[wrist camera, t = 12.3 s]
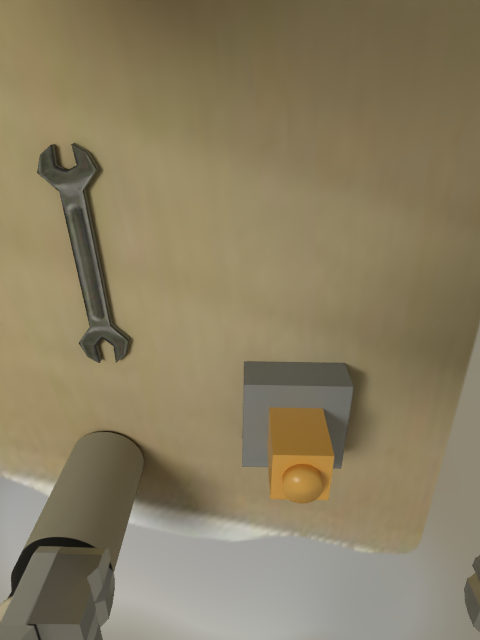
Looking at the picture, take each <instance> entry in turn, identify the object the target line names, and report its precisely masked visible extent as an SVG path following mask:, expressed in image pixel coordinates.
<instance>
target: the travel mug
mask: <svg viewBox="0 0 480 640" xmlns="http://www.w3.org/2000/svg"><path fill="white" fill-rule="evenodd" d="M143 467H144V458H143V455H142V453H141V451H140V449H139V448H138V447H137V446H136V445H135V444H134V443H133V442H132V441H131V440H129V439H128V438H126V437H124V436H121V435H119V434H115V433H111V432H96V433H91V434H88V435H86V436H84V437H83V438H81V439H80V440H79V441H78V442H77V443H76V445H75V446H74V448H73V450H72V452H71V454H70V456H69V458H68V460H67V462H66V464H65V466H64V468H63V470H62V472H61V474H60V476H59V478H58V480H57V482H56V484H55V486H54V488H53V490H52V492H51V495H50V497H49V499H48V501H47V503H46V505H45V507H44V509H43V511H42V513H41V515H40V517H39V519H38V521H37V523H36V525H35V527H34V529H33V531H32V533H31V535H30V537H29V539H28V541H27V543H26V545H25V547H24V549H23V551H22V553H21V555H20V557H19V559H18V561H17V563H16V565H15V567H14V569H13V571H12V575H11V585H12V586H11V587H12V592H11V594H10V596H9V597H8V598H7V599H6V600H5V601H3V602H2V603H1V604H0V622H1V620H2V618H3V616H4V614H5V612H6V610H7V608H8V605H9V603H10V601H11V599H12V597H13V595H14V593H15V591H16V589H17V587H18V584H19V582H20V580H21V578H22V576H23V574H24V572H25V570H26V568H27V565H28V563H29V561H30V559H31V557H32V555H33V553H34V552H35V551H36V550H37V549H38V547H39V546H53V547H78V548H107V549H109V552H110V556H111V560H110V563H109V568H110V569H111V570H112V571H113V572H114V570H115V566H116V563H117V559H118V556H119V552H120V549H121V545H122V541H123V538H124V534H125V531H126V527H127V524H128V520H129V517H130V513H131V510H132V506H133V502H134V499H135V495H136V492H137V488H138V485H139V481H140V478H141V474H142V471H143Z"/></svg>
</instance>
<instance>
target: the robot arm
mask: <svg viewBox="0 0 480 640" xmlns="http://www.w3.org/2000/svg"><path fill="white" fill-rule="evenodd" d="M110 560H111V556H110V552H109V549H107V548H78V547H53V546H39V547H38V549H37V550H36V551H35V552H34V553H33V555H32V557H31V559H30V561H29V563H28V565H27V568H26V570H25V572H24V574H23V576H22V578H21V580H20V582H19V584H18V587H17V589H16V591H15V593H14V595H13V597H12V599H11V601H10V603H9V605H8V608H7V610H6V612H5V614H4V616H3V618H2V620H1V622H0V640H103V639H102V635H101V630H100V627H101V626H102V625H103V624H104V623H105V622H106V621H107V620H108V619H109V616H110V611H111V608H112V603H113V597H114V590H115V578H114V572H113V571H112V570H111V569H110V568H109V563H110ZM472 566H473V568H474V570H475V572H476V573H475V574H473V575H472V576H471V577H469V578H468V579H467V582H466V585H465V588H464V592H465V603H466V607H467V611H468V614H469V617H470V619H471V621H472V624H473V626H474V627H475V628H476V629H477V630H478V631H479V632H480V556H478V557H477V558H475V560H474V563H473V565H472Z"/></svg>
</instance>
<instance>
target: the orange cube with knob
mask: <svg viewBox="0 0 480 640" xmlns="http://www.w3.org/2000/svg"><path fill="white" fill-rule="evenodd" d="M267 451H268V469H269V486H270V499H289V500H290V501H292V502H295V503H309V502H312V501H314V500H328V498H329V491H330V484H331V477H332V470H333V463H334V452H333V448H332V444H331V440H330V436H329V432H328V427H327V423H326V419H325V415H324V411H323V408H276V407H269V426H268V445H267Z"/></svg>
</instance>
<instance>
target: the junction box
mask: <svg viewBox="0 0 480 640" xmlns="http://www.w3.org/2000/svg"><path fill="white" fill-rule="evenodd" d="M353 388H354V386H353V384H352V381H351V378H350V375H349V373H348V370H347V367H346V365H345V363H299V362H244V398H243V455H242V467H268V451H267V445H268V426H269V407H276V408H323V411H324V415H325V419H326V423H327V427H328V432H329V436H330V440H331V444H332V448H333V452H334V463H333V468H339V469H341V466H342V460H343V453H344V447H345V440H346V434H347V427H348V421H349V414H350V408H351V401H352V395H353Z"/></svg>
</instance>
